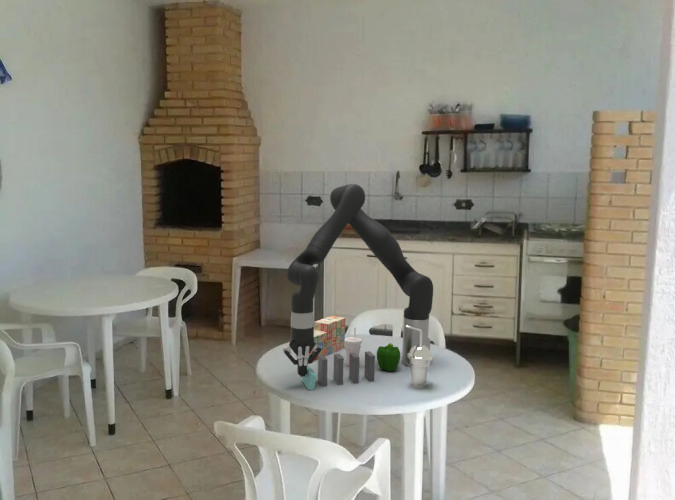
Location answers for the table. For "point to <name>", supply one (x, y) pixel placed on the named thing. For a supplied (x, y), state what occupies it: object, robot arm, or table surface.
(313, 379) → the domino
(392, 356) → the bell pepper
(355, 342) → the smoothie
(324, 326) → the stack of blocks
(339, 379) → the domino
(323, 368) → the domino
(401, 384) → the table surface
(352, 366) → the domino
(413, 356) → the cup with straw
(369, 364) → the domino
